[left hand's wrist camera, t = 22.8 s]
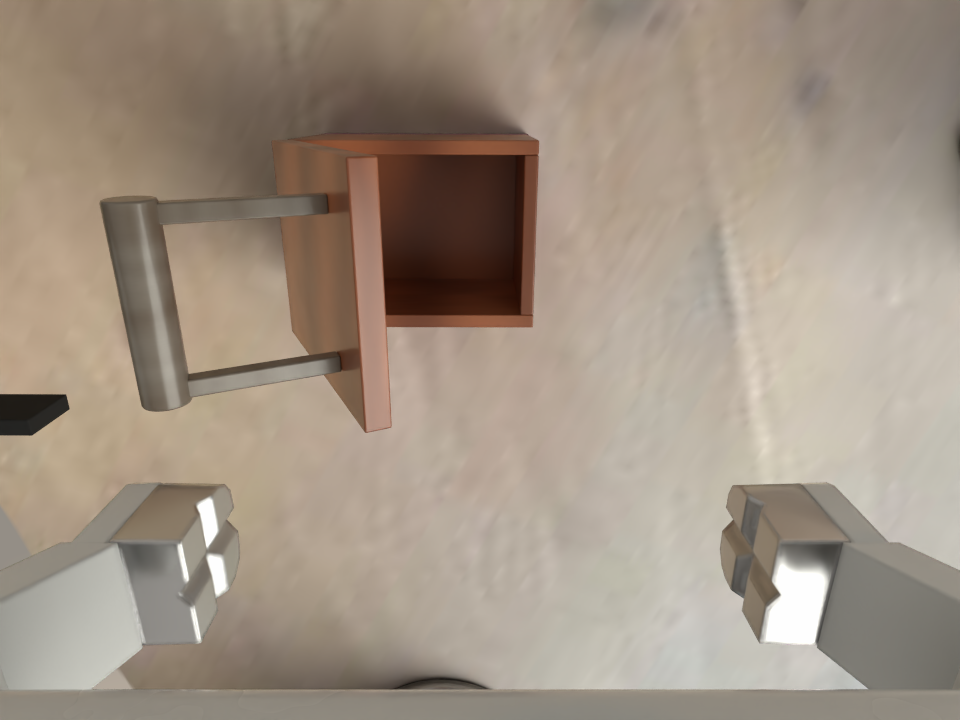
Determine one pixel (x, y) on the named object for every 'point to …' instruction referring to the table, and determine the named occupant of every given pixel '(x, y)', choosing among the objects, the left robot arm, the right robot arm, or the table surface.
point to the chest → (454, 225)
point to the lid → (309, 271)
